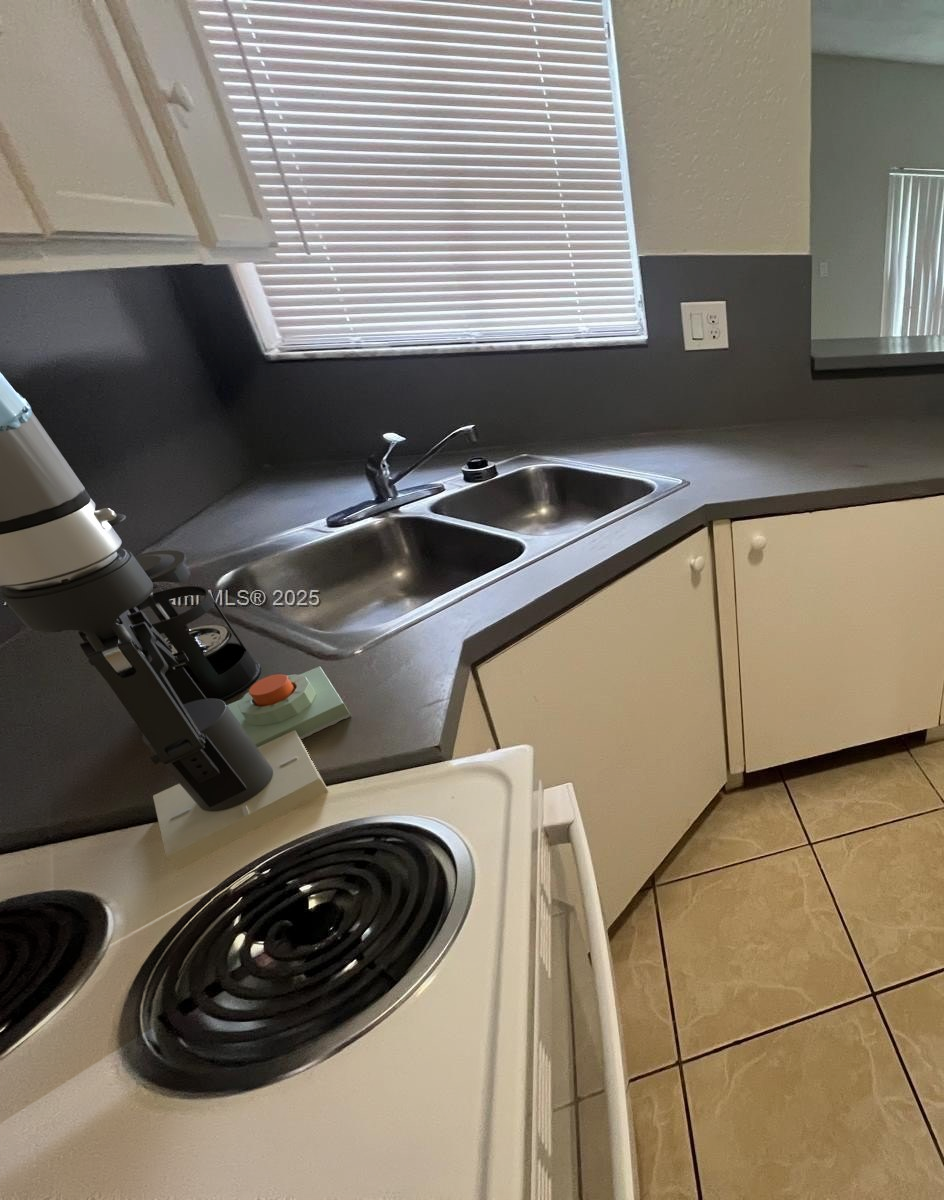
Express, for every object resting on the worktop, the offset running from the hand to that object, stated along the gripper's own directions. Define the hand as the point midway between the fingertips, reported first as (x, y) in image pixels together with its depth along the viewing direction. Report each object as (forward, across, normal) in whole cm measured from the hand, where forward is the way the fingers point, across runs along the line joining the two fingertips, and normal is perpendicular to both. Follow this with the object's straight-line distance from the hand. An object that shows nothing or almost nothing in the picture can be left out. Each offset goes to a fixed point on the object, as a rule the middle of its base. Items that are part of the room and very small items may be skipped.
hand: (215, 757), depth 60 cm
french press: (+6, +26, -1) cm, 26 cm away
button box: (+6, +11, -6) cm, 14 cm away
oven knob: (+4, 0, 0) cm, 4 cm away
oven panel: (+6, 0, 0) cm, 6 cm away
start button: (+3, +11, -6) cm, 12 cm away
